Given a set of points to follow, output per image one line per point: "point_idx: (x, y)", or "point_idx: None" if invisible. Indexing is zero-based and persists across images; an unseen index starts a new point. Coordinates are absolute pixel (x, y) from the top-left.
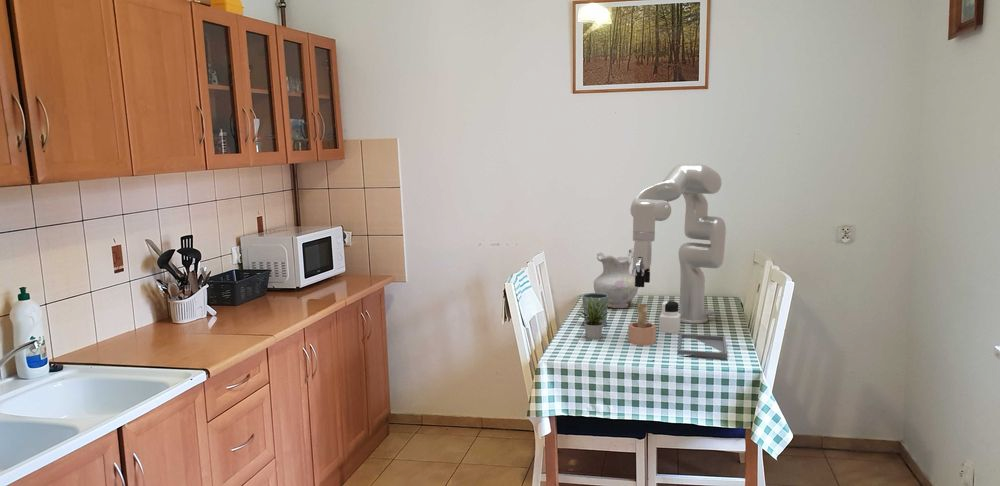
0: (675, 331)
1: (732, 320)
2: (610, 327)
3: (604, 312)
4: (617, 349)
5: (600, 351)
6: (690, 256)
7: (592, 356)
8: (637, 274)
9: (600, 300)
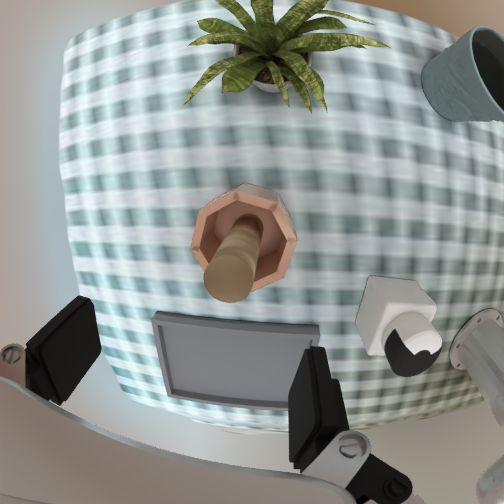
0: (358, 322)
1: (453, 397)
2: (431, 129)
3: (459, 106)
4: (177, 156)
5: (149, 113)
6: None
7: (106, 106)
8: (7, 362)
9: (351, 43)
